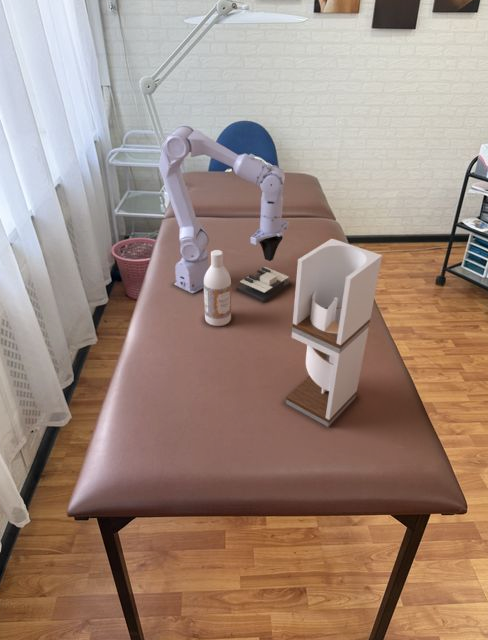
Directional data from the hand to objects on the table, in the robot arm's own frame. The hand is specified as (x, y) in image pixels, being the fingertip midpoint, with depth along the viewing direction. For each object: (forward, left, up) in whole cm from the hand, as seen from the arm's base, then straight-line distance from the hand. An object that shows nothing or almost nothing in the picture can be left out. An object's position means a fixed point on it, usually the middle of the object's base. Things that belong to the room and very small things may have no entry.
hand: (268, 259), depth 143 cm
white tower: (-29, -38, -10) cm, 49 cm away
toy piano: (0, +1, -10) cm, 10 cm away
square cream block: (0, 0, -7) cm, 7 cm away
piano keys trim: (0, +1, -7) cm, 7 cm away
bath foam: (-21, 0, -10) cm, 23 cm away
